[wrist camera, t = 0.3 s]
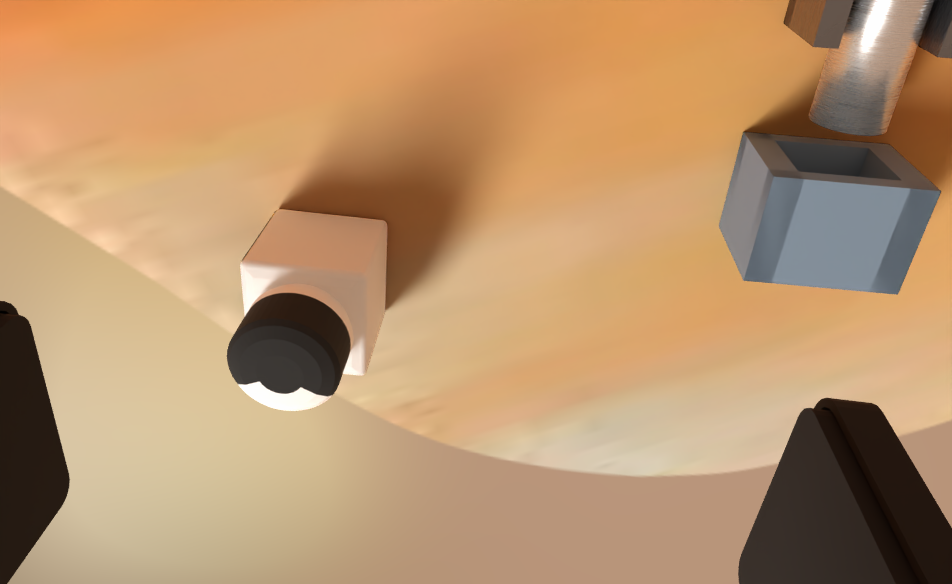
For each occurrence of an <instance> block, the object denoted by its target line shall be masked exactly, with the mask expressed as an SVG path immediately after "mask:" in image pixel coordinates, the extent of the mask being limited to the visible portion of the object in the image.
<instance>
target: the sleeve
mask: <svg viewBox="0 0 952 584" xmlns="http://www.w3.org/2000/svg"><path fill="white" fill-rule="evenodd" d="M853 1H854V0H790V1H789V4H788V8H787V12H786V16H785V19H784V24H785V25H786V26H787V27H789V28H790V29H791V30H792V31H794V32H795V33H796V34H797V35H799V36H800V37H801V38H802V39H804V40H805V41H806V42H807V43H809V44H810V45H811V46H812V47H822V48H834V49H839V46H840V43H841V39H842V36H843V33H844V30H845V26H846V23H847V20H848V17H849V14H850V10H851V7H852V4H853ZM918 46H919V47H921V48H923V49H924V50H926V51H928V52H930V53H931V54H933V55H935V56H936V57H942V58H952V0H934V2H933V5H932V8H931V11H930V13H929V16H928V19H927V22H926V24H925V27H924V30H923V33H922V35H921V38H920V41H919V44H918Z"/></svg>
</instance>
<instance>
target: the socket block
mask: <svg viewBox="0 0 952 584" xmlns="http://www.w3.org/2000/svg"><path fill="white" fill-rule="evenodd" d="M940 193H941V191H940V190H939V189H938V188H937V187H936V186H935V185H934V184H933V183H932V182H930V181H929V180H928V179H927V178H926V177H925V176H924V175H923V174H922V173H920V172H919V171H918V170H917V169H916V168H915V167H914V166H913V165H912V164H910V163H909V162H908V161H907V160H906V159H905V158H904V157H903V156H902V155H900V154H899V153H898V152H897V151H896V150H895V149H894V148H893V147H892V146H890V145H889V144H880V143H868V142H857V141H845V140H833V139H822V138H810V137H798V136H787V135H775V134H763V133H752V132H743V135H742V139H741V143H740V147H739V151H738V155H737V158H736V162H735V166H734V170H733V174H732V178H731V181H730V185H729V189H728V193H727V197H726V201H725V204H724V208H723V212H722V216H721V220H720V224H719V228H720V230H721V232H722V234H723V237H724V239H725V241H726V243H727V245H728V248H729V250H730V252H731V254H732V256H733V259H734V261H735V263H736V265H737V267H738V270H739V272H740V274H741V276H742V278H743V281H754V282H765V283H776V284H787V285H798V286H809V287H820V288H831V289H842V290H854V291H865V292H876V293H887V294H898V293H899V290H900V288H901V286H902V283H903V281H904V279H905V276H906V274H907V271H908V269H909V267H910V264H911V262H912V260H913V257H914V255H915V252H916V250H917V248H918V245H919V243H920V241H921V238H922V236H923V233H924V231H925V229H926V226H927V224H928V222H929V219H930V217H931V214H932V212H933V210H934V207H935V205H936V203H937V200H938V198H939V196H940Z"/></svg>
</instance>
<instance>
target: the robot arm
mask: <svg viewBox="0 0 952 584" xmlns="http://www.w3.org/2000/svg"><path fill="white" fill-rule="evenodd" d="M69 480H70V479H69V473H68V469H67V465H66V461H65V457H64V453H63V449H62V445H61V442H60V438H59V434H58V430H57V426H56V422H55V418H54V414H53V411H52V407H51V403H50V399H49V395H48V391H47V387H46V383H45V380H44V376H43V372H42V368H41V364H40V360H39V356H38V352H37V349H36V345H35V341H34V337H33V333H32V329H31V326H30V324H29V321H28V320H27V319H26V318H25V317H23V316H20V315H19V314H18V312H17V310H16V308H15V307H14V306H13V305H12V304H10V303H7V302H5V301H0V584H7V583H8V582H9V580H10V579H11V577H12V576H13V575H14V573H15V572H16V570H17V569H18V567H19V566H20V565H21V563H22V562H23V561H24V559H25V557H26V556H27V555H28V553H29V552H30V551H31V549H32V548H33V546H34V545H35V543H36V542H37V541H38V539H39V538H40V536H41V535H42V534H43V532H44V531H45V529H46V528H47V526H48V525H49V524H50V522H51V521H52V519H53V518H54V516H55V515H56V514H57V512H58V511H59V509H60V508H61V506H62V505H63V503H64V501H65V499H66V496H67V493H68V489H69ZM738 575H739V584H952V528H951V526H950V524H949V523H948V521H947V519H946V518H945V516H944V514H943V513H942V511H941V509H940V508H939V506H938V504H937V503H936V501H935V499H934V498H933V496H932V494H931V493H930V491H929V489H928V487H927V486H926V484H925V482H924V481H923V479H922V477H921V476H920V474H919V472H918V471H917V469H916V468H915V466H914V464H913V462H912V461H911V459H910V457H909V456H908V454H907V452H906V451H905V449H904V447H903V446H902V444H901V442H900V441H899V439H898V437H897V435H896V434H895V432H894V430H893V429H892V427H891V425H890V424H889V422H888V420H887V419H886V417H885V415H884V414H883V412H882V411H881V409H880V408H879V407H878V406H877V405H875V404H872V403H866V402H857V401H849V400H840V399H832V398H824V399H821V400H820V401H819V402H818V403H817V404H816V406H815V408H814V409H813V408H806V409H804V410H803V411H802V412H801V413H800V415H799V417H798V419H797V421H796V424H795V426H794V428H793V431H792V433H791V436H790V438H789V441H788V443H787V445H786V448H785V450H784V453H783V455H782V457H781V460H780V462H779V465H778V467H777V470H776V472H775V474H774V477H773V479H772V482H771V484H770V486H769V489H768V491H767V494H766V496H765V499H764V501H763V503H762V506H761V508H760V511H759V513H758V515H757V518H756V520H755V523H754V525H753V527H752V530H751V532H750V535H749V537H748V540H747V542H746V544H745V547H744V550H743V552H742V554H741V557H740V561H739V573H738Z"/></svg>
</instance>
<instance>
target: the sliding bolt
mask: <svg viewBox="0 0 952 584" xmlns="http://www.w3.org/2000/svg"><path fill="white" fill-rule="evenodd" d="M933 2H934V0H854V1H853V4H852V7H851V10H850V14H849V17H848V20H847V23H846V26H845V30H844V33H843V36H842V39H841V43H840V46H839V49H834V48H829V50H828V53H827V57H826V60H825V63H824V66H823V70H822V73H821V76H820V80H819V83H818V86H817V89H816V93H815V96H814V99H813V103H812V106H811V109H810V112H809V119H810V120H811V121H812V122H814V123H816V124H817V125H820V126H822V127H824V128H827V129H830V130H834V131H838V132H842V133H847V134H853V135H862V136H875V135H881V134H884V133H886V132H887V129H888V126H889V123H890V121H891V118H892V115H893V112H894V110H895V107H896V104H897V101H898V99H899V96H900V93H901V90H902V88H903V85H904V82H905V79H906V77H907V74H908V71H909V68H910V66H911V63H912V60H913V57H914V55H915V52H916V49H917V46H918V44H919V41H920V38H921V35H922V33H923V30H924V27H925V24H926V22H927V19H928V16H929V13H930V11H931V8H932V5H933Z"/></svg>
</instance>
